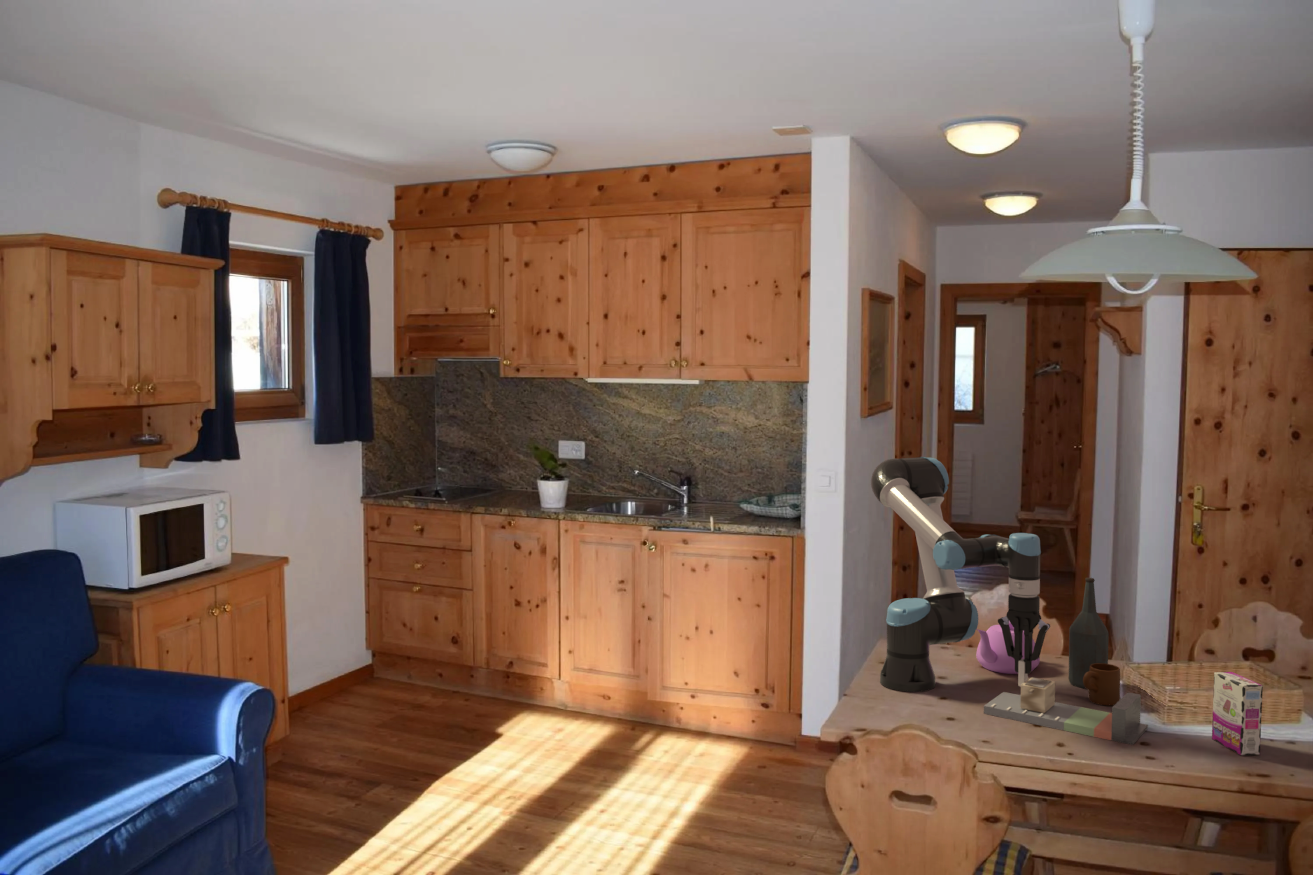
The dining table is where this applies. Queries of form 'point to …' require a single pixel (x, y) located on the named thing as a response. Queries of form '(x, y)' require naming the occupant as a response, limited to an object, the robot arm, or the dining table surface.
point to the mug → (1103, 684)
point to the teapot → (999, 651)
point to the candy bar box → (1237, 713)
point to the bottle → (1087, 638)
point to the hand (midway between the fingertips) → (1022, 684)
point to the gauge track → (1054, 716)
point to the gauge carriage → (1037, 695)
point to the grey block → (1127, 719)
